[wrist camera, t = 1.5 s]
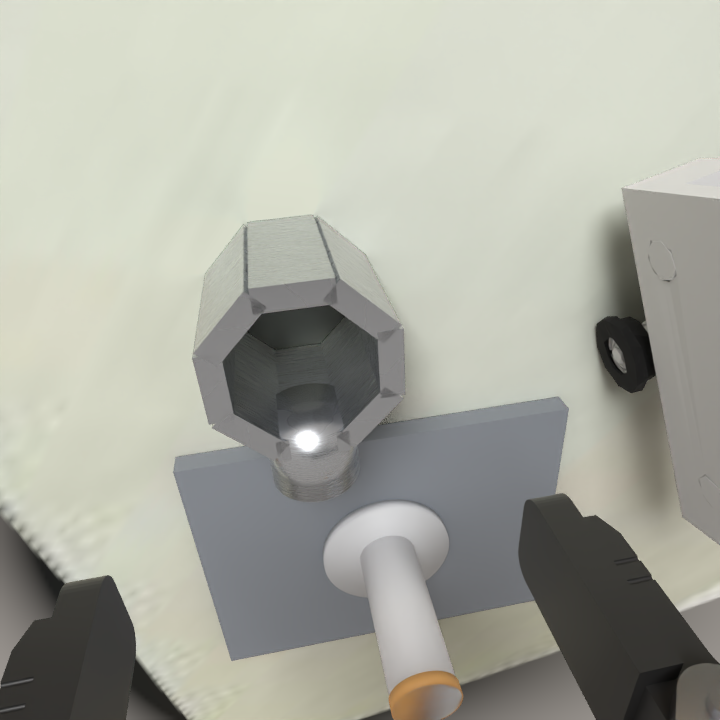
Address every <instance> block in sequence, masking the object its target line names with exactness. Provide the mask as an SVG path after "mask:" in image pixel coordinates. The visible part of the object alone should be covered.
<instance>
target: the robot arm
mask: <svg viewBox="0 0 720 720" xmlns="http://www.w3.org/2000/svg"><path fill="white" fill-rule="evenodd" d="M518 557H519V563H520V568H521V571H522V574H523V577H524V580H525V582H526V584H527V586H528V588H529V590H530V592H531V594H532V595H533V597H534V599H535V601H536V603H537V605H538V607H539V609H540V611H541V613H542V615H543V617H544V619H545V621H546V623H547V625H548V627H549V629H550V631H551V633H552V635H553V636H554V638H555V640H556V642H557V644H558V646H559V648H560V650H561V652H562V654H563V656H564V658H565V660H566V662H567V664H568V666H569V668H570V670H571V671H572V674H573V675H574V677H575V679H576V681H577V683H578V685H579V687H580V689H581V691H582V693H583V695H584V697H585V699H586V701H587V702H588V705H589V707H590V708H591V711H592V713H593V715H594V716H595V718H596V720H720V664H719V663H718V662H717V661H716V660H715V659H714V658H713V657H712V655H711V654H710V653H709V652H708V650H707V649H706V648H705V647H704V645H703V644H702V642H701V641H700V640H699V638H698V637H697V636H696V634H695V633H694V632H693V630H692V629H691V628H690V626H689V625H688V623H687V622H686V621H685V620H684V618H683V617H682V615H681V614H680V613H679V611H678V610H677V609H676V607H675V606H674V605H673V603H672V602H671V601H670V599H669V598H668V597H667V595H666V594H665V593H664V591H663V590H662V589H661V587H660V586H659V585H658V583H657V582H656V580H653V579H652V577H651V574H650V572H649V571H648V570H647V568H646V567H645V566H644V564H643V563H642V562H641V561H639V560H638V558H637V555H636V554H635V552H634V551H633V550H632V548H631V547H630V546H629V544H628V543H627V541H626V540H625V539H624V537H623V536H622V535H621V533H619V532H618V531H617V530H615V529H614V528H613V527H611V526H610V525H609V524H607V523H606V522H604V521H603V520H602V519H600V518H599V517H598V516H596V515H594V516H589V517H583V516H582V515H581V514H580V512H579V511H578V509H577V508H576V506H575V505H574V503H573V502H572V501H571V499H570V498H569V497H568V496H567V495H565V494H563V493H561V494H555V495H550V496H544V497H539V498H533V499H528V500H526V502H525V504H524V509H523V517H522V524H521V532H520V540H519V547H518ZM135 656H136V640H135V632H134V627H133V624H132V621H131V619H130V617H129V614H128V612H127V610H126V607H125V605H124V603H123V600H122V598H121V596H120V593H119V591H118V589H117V587H116V584H115V582H114V580H113V578H112V577H111V576H109V575H107V576H102V577H97V578H91V579H86V580H80V581H75V582H69V583H66V584H65V585H64V586H63V587H62V589H61V590H60V593H59V596H58V599H57V602H56V606H55V609H54V612H53V616H52V617H51V618H46V619H41V620H35V621H34V622H33V623H32V625H31V626H30V627H29V628H28V630H27V631H26V632H25V634H24V635H23V636H22V638H21V639H20V641H19V642H18V643H17V645H16V646H15V647H14V649H13V650H12V652H11V655H10V658H9V661H8V663H7V666H6V669H5V672H4V675H3V678H2V680H1V688H0V720H126V715H127V708H128V702H129V695H130V689H131V683H132V676H133V670H134V664H135Z"/></svg>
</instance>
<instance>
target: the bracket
mask: <svg viewBox="0 0 720 720" xmlns="http://www.w3.org/2000/svg"><path fill="white" fill-rule="evenodd" d="M622 193H623V199H624V204H625V209H626V215H627V220H628V226H629V231H630V236H631V242H632V247H633V253H634V258H635V263H636V269H637V274H638V280H639V285H640V290H641V296H642V301H643V307H644V312H645V317H646V321H644V322H643V323H642V324H641V323H640V322H639V321H637V320H635V319H633V318H632V317H627V318H623V319H620V318H618V317H617V316H607V317H606V318H604V319H603V320H602V321H600V322H599V323H598V324H597V345H598V349H599V352H600V354H601V357H602V360H603V362H604V365H605V367H606V369H607V370H608V372H609V373H610V374H611V376H612V377H613V379H614V380H615V382H616V383H617V384H618V386H620V387H621V388H623V389H625V390H627V391H628V392H630V393H633V392H638V391H642V390H643V388H644V386H645V384H646V382H647V381H648V380H649V379H651V378H652V377H654V376H655V375H656V377H657V382H658V388H659V393H660V399H661V404H662V409H663V415H664V420H665V426H666V431H667V436H668V442H669V447H670V453H671V458H672V463H673V469H674V474H675V480H676V485H677V490H678V496H679V501H680V507H681V512H682V517H683V518H685V519H686V520H687V521H688V522H690V523H691V524H692V525H694V526H695V527H696V528H698V529H699V530H700V531H702V532H703V533H704V534H706V535H707V536H708V537H710V538H711V539H712V540H713V541H715V542H716V543H717V544H719V545H720V158H699V159H696V160H694V161H691V162H688V163H686V164H683V165H681V166H678V167H675V168H673V169H670V170H668V171H665V172H662V173H660V174H657V175H654V176H652V177H649V178H646V179H644V180H641V181H639V182H636V183H633V184H631V185H628V186H625V187H623V188H622Z"/></svg>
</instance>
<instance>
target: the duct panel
mask: <svg viewBox="0 0 720 720" xmlns="http://www.w3.org/2000/svg"><path fill="white" fill-rule="evenodd" d="M568 410H569V408H568V407H567V406H566V405H565V404H564V402H563V401H562V400H561V399H560V398H559V397H554V398H548V399H541V400H535V401H529V402H522V403H516V404H509V405H503V406H497V407H490V408H484V409H478V410H471V411H465V412H459V413H452V414H446V415H440V416H433V417H427V418H421V419H414V420H408V421H402V422H395V423H389V424H382V425H377V426H376V427H375V428H374V429H373V430H372V431H371V432H370V433H369V434H368V435H367V436H366V437H365V438H364V439H363V440H362V441H361V442H360V443H359V444H358V453H359V465H360V471H359V475H358V478H357V480H356V481H355V483H354V484H353V485H352V487H350V488H349V489H348V490H347V491H346V492H344V493H343V494H341V495H339V496H337V497H335V498H332V499H329V500H325V501H320V502H301V501H297V500H293V499H291V498H288V497H287V496H285V495H283V494H282V493H281V492H280V491H279V490H278V489H277V487H276V486H275V483H274V480H273V475H272V470H271V464H270V459H269V458H268V457H266V456H264V455H262V454H260V453H259V452H257V451H255V450H253V449H251V448H249V447H247V446H243V447H236V448H230V449H224V450H217V451H211V452H205V453H198V454H192V455H186V456H179V457H176V458H175V464H174V471H173V473H174V476H175V479H176V483H177V486H178V489H179V492H180V496H181V499H182V502H183V505H184V509H185V512H186V515H187V518H188V522H189V525H190V528H191V531H192V534H193V538H194V541H195V544H196V547H197V551H198V554H199V557H200V560H201V564H202V567H203V570H204V573H205V577H206V580H207V583H208V586H209V590H210V593H211V596H212V599H213V603H214V606H215V609H216V612H217V615H218V619H219V622H220V625H221V628H222V632H223V635H224V638H225V641H226V645H227V648H228V651H229V654H230V658H231V661H234V660H239V659H244V658H249V657H254V656H259V655H264V654H269V653H274V652H279V651H284V650H289V649H294V648H299V647H304V646H309V645H314V644H319V643H324V642H329V641H334V640H339V639H344V638H349V637H354V636H359V635H364V634H369V633H374V632H375V633H376V637H377V642H378V647H379V651H380V656H381V661H382V665H383V670H384V675H385V680H386V684H387V689H388V694H389V704H390V709H391V714H392V717H393V719H394V720H442V719H444V718H446V717H448V716H450V715H451V714H452V713H454V712H455V711H456V710H457V709H458V708H459V706H460V705H461V703H462V701H463V693H462V690H461V687H460V684H459V681H458V679H457V678H456V676H455V673H454V669H453V666H452V663H451V660H450V657H449V654H448V651H447V648H446V645H445V641H444V638H443V635H442V632H441V629H440V626H439V623H438V620H439V619H444V618H449V617H454V616H459V615H464V614H469V613H474V612H479V611H484V610H489V609H494V608H499V607H504V606H509V605H514V604H519V603H524V602H529V601H534V600H535V599H534V597H533V595H532V594H531V592H530V590H529V588H528V586H527V584H526V582H525V580H524V577H523V574H522V571H521V568H520V563H519V557H518V547H519V540H520V532H521V524H522V517H523V509H524V504H525V502H526V500H528V499H533V498H539V497H544V496H550V495H555V492H556V486H557V479H558V473H559V467H560V461H561V454H562V448H563V442H564V435H565V429H566V423H567V417H568Z"/></svg>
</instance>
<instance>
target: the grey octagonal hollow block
mask: <svg viewBox="0 0 720 720" xmlns="http://www.w3.org/2000/svg"><path fill="white" fill-rule="evenodd" d="M324 305H330V306H331V307H333V308H334V309H336V310H337V311H338V312H340V313H341V314H343V315H344V316H345V317H344V318H343V319H342V320H341V321H340V323H339V324H338V325H337V326H336V327H335V328H334V329H333V330H332V332H331V333H330V334H329V335H328V336H327V337H326V338H325V339H324V341H323V342H322V343H321V344H314V345H307V346H300V347H293V348H285V349H278V350H274V349H273V348H271V347H269V346H268V345H266V344H265V343H263V342H261V341H260V340H258V339H257V338H255V337H254V336H252V335H250V334H249V333H247V331H248V330H249V328H250V327H251V326H252V325H253V324H254V322H255V321H256V320H257V319H258V318H259V316H260V315H261V314H263V313H271V312H279V311H286V310H294V309H301V308H309V307H317V306H324ZM192 359H193V363H194V367H195V371H196V375H197V379H198V383H199V387H200V391H201V395H202V399H203V403H204V407H205V411H206V415H207V419H208V423H209V424H212V428H213V429H215V430H217V431H219V432H220V433H222V434H224V435H226V436H228V437H230V438H232V439H234V440H236V441H238V442H240V443H241V444H243V445H245V446H247V447H249V448H251V449H253V450H255V451H257V452H259V453H260V454H262V455H264V456H266V457H268V458H269V459H270V464H271V470H272V475H273V480H274V483H275V486H276V487H277V489H278V490H279V491H280V492H281V493H282V494H283V495H285V496H287V497H288V498H291V499H293V500H297V501H301V502H320V501H325V500H329V499H332V498H335V497H337V496H339V495H341V494H343V493H344V492H346V491H347V490H348V489H349V488H350V487H352V485H353V484H354V483H355V481H356V480H357V478H358V475H359V471H360V465H359V453H358V444H359V443H360V442H361V441H362V440H363V439H364V438H365V437H366V436H367V435H368V434H369V433H370V432H371V431H372V430H373V429H374V428H375V427H376V426H377V425H378V424H379V423H380V422H381V421H382V420H383V419H384V418H385V417H386V416H387V415H388V414H389V413H390V412H391V411H392V410H393V409H394V408H395V407H396V406H397V405H398V404H399V403H400V402H401V401H402V400H403V396H402V395H405V365H404V329H403V327H402V325H401V323H400V321H399V319H398V317H397V315H396V313H395V311H394V309H393V307H392V305H391V303H390V301H389V299H388V297H387V295H386V293H385V292H384V290H383V288H382V286H381V284H380V282H379V280H378V278H377V276H376V274H375V272H374V270H373V268H372V266H371V264H370V262H369V260H368V258H367V257H366V255H365V254H364V253H363V252H362V251H361V250H359V249H358V248H357V247H356V246H354V245H353V244H352V243H351V242H349V241H348V240H347V239H346V238H344V237H343V236H342V235H341V234H339V233H338V232H337V231H336V230H334V229H333V228H332V227H331V226H329V225H328V224H327V223H326V222H324V221H323V220H322V219H320V218H319V217H318V216H317V217H316V218H314V216H313V215H307V216H298V217H289V218H280V219H271V220H262V221H253V222H247V226H245V225H244V224H243V226H242V227H241V228H240V229H239V231H238V232H237V233H236V235H235V236H234V237H233V238H232V240H231V241H230V242H229V244H228V245H227V246H226V248H225V249H224V250H223V251H222V253H221V254H220V255H219V257H218V258H217V259H216V261H215V262H214V263H213V264H212V266H211V267H210V268H209V270H208V271H207V272H206V274H205V278H204V284H203V290H202V297H201V304H200V310H199V317H198V323H197V330H196V336H195V343H194V350H193V356H192Z"/></svg>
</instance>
